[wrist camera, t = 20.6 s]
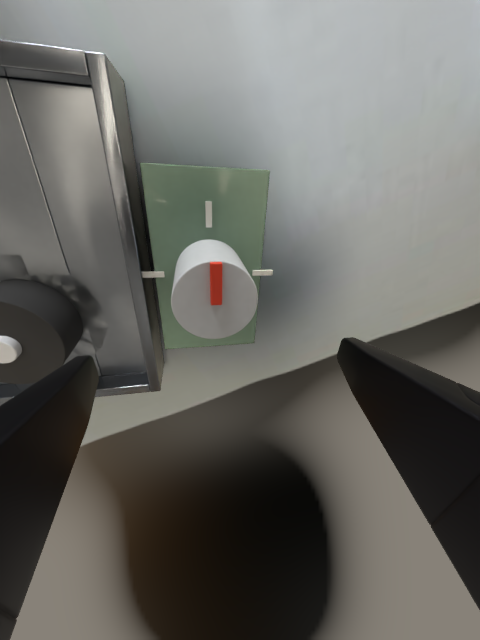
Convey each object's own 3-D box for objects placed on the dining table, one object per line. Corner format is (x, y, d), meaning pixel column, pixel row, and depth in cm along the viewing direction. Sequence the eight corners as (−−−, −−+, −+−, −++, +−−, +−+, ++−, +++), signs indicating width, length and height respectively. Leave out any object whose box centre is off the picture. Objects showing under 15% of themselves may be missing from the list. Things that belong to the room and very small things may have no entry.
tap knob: (240, 301, 18) (256, 339, 14) (178, 304, 17) (174, 345, 13) (244, 239, 15) (263, 262, 11) (172, 238, 15) (165, 263, 11)
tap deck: (158, 329, 21) (153, 351, 18) (134, 163, 15) (122, 161, 12) (255, 323, 23) (264, 344, 20) (269, 171, 17) (284, 171, 14)
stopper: (15, 345, 19) (-36, 396, 15) (-22, 271, 16) (-101, 307, 12) (99, 340, 20) (73, 386, 16) (78, 270, 17) (40, 302, 13)
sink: (-25, 370, 20) (-45, 388, 18) (-225, 64, 11) (-301, 44, 9) (154, 357, 22) (151, 372, 21) (111, 98, 13) (100, 87, 12)
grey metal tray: (-32, 378, 20) (-70, 413, 17) (-266, 36, 10) (-447, -19, 7) (164, 363, 23) (160, 391, 20) (124, 80, 13) (104, 52, 10)
